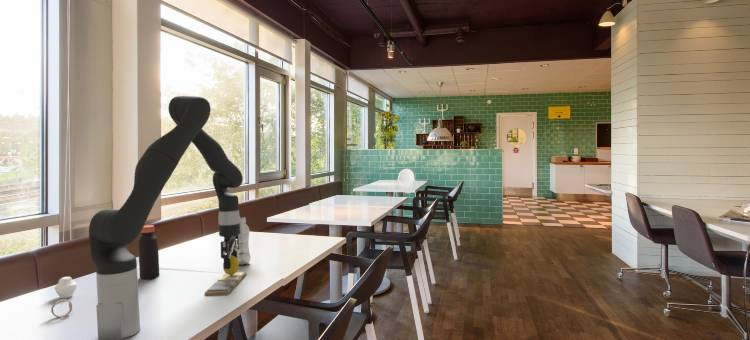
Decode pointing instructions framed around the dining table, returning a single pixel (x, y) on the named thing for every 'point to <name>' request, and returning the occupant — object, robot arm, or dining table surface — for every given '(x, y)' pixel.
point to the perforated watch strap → (66, 313)
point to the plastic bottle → (243, 243)
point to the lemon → (232, 266)
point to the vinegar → (148, 253)
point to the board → (226, 284)
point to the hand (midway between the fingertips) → (230, 265)
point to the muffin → (65, 287)
